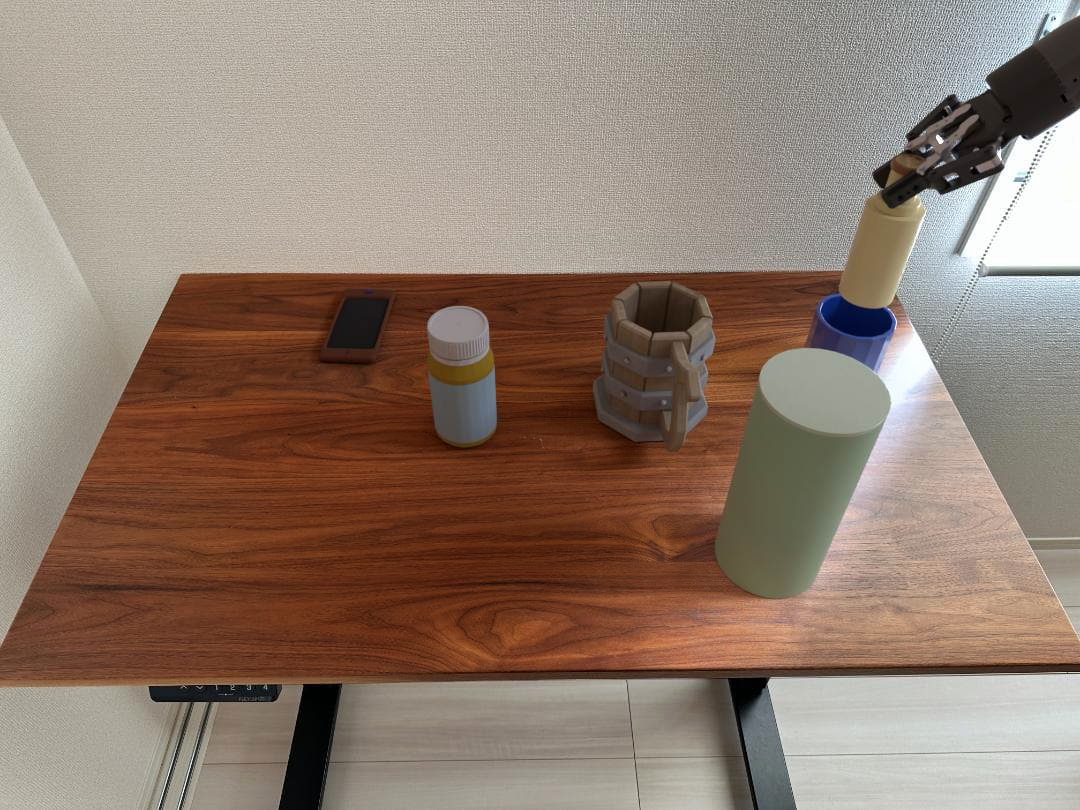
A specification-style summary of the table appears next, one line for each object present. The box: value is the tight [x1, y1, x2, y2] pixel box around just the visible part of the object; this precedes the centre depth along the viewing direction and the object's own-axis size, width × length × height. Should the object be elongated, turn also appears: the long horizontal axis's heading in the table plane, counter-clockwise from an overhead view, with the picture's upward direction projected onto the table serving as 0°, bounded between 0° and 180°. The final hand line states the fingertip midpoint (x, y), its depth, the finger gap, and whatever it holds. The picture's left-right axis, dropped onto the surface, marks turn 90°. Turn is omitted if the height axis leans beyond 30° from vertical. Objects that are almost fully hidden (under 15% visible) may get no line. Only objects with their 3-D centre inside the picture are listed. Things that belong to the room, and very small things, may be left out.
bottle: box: [426, 305, 498, 449], centre depth 83 cm, size 7×7×15 cm
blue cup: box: [803, 292, 898, 375], centre depth 93 cm, size 9×9×8 cm
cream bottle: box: [838, 153, 927, 308], centre depth 83 cm, size 6×6×16 cm
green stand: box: [714, 347, 892, 600], centre depth 68 cm, size 10×10×22 cm
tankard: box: [592, 280, 716, 453], centre depth 83 cm, size 20×13×15 cm, turn 4°
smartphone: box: [318, 288, 397, 364], centre depth 101 cm, size 7×1×15 cm
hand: (881, 191), depth 80 cm, fingers closed on cream bottle, 3 cm apart
